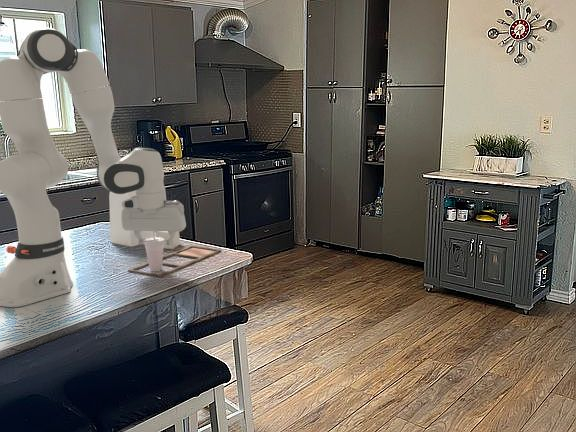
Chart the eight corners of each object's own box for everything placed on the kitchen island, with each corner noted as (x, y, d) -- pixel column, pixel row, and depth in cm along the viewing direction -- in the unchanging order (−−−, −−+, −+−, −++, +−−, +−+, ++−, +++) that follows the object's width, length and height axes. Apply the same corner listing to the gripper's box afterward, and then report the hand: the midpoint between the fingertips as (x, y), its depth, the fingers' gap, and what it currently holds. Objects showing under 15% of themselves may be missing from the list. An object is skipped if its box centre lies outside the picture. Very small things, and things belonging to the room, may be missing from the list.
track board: (160, 277, 172) (159, 275, 172) (128, 271, 178) (128, 269, 178) (221, 251, 198) (221, 249, 198) (191, 247, 204) (191, 245, 204)
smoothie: (169, 266, 183) (166, 223, 179) (162, 273, 176) (159, 228, 173) (149, 266, 183) (146, 223, 180) (142, 272, 177) (139, 228, 174)
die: (172, 249, 203) (171, 232, 202) (157, 248, 204) (155, 231, 203) (179, 244, 209) (178, 228, 207) (164, 243, 210) (163, 227, 209)
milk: (135, 235, 223) (130, 168, 217) (156, 239, 216) (151, 170, 211) (110, 242, 213) (104, 172, 207) (131, 246, 207) (125, 174, 201)
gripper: (187, 198, 176) (191, 242, 179) (127, 198, 181) (131, 241, 184) (178, 202, 170) (182, 248, 173) (116, 202, 175) (121, 246, 178)
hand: (155, 244), depth 178 cm, fingers open, 8 cm apart
